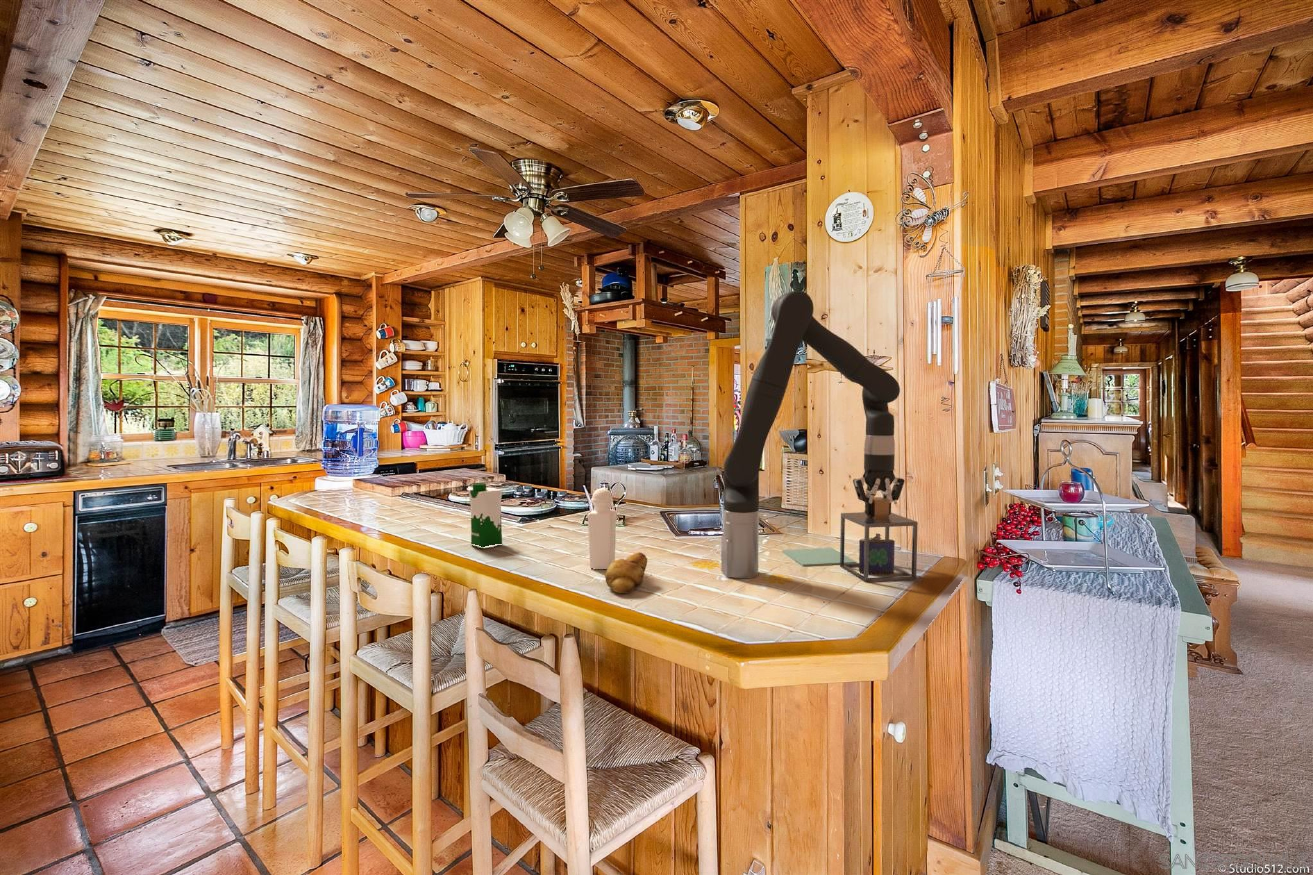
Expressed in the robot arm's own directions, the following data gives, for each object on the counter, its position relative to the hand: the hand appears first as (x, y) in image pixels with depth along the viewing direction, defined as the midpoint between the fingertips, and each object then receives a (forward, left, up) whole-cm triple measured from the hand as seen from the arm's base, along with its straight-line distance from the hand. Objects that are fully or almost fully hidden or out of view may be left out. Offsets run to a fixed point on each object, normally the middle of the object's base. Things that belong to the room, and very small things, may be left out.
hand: (877, 516), depth 156 cm
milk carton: (-107, +47, -15) cm, 118 cm away
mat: (-9, +17, -15) cm, 25 cm away
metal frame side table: (0, 0, -15) cm, 15 cm away
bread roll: (-68, -1, -16) cm, 70 cm away
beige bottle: (-72, +17, -15) cm, 76 cm away
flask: (0, 0, -16) cm, 16 cm away
